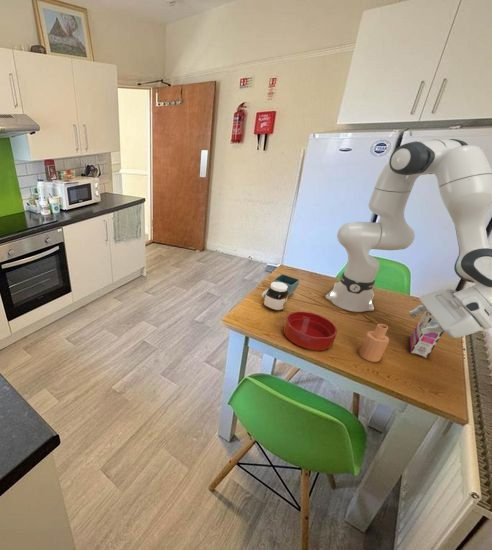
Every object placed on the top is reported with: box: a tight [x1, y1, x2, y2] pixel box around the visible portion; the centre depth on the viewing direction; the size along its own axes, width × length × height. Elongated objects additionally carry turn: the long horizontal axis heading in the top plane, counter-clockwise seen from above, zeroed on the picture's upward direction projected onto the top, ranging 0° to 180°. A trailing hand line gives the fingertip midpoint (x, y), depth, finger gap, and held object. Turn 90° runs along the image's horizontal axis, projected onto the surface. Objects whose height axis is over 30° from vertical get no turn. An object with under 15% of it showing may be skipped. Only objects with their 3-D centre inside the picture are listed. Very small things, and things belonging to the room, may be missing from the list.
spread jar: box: [261, 281, 289, 312], centre depth 137 cm, size 12×11×12 cm
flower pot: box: [273, 273, 301, 298], centre depth 144 cm, size 9×9×9 cm
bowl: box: [283, 311, 338, 351], centre depth 117 cm, size 17×17×6 cm
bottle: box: [358, 323, 390, 363], centre depth 105 cm, size 6×6×14 cm
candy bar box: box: [409, 311, 445, 359], centre depth 107 cm, size 11×5×16 cm, turn 141°
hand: (415, 322), depth 98 cm, fingers open, 8 cm apart
